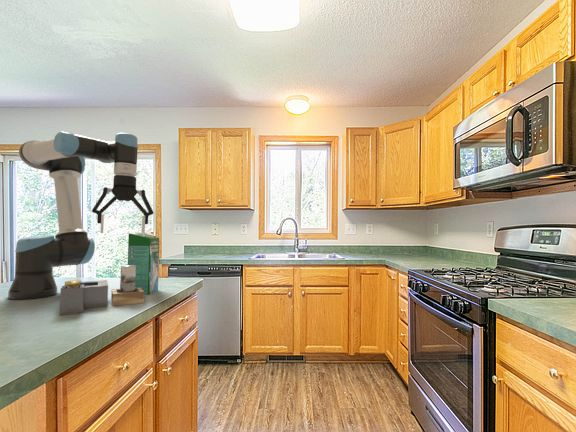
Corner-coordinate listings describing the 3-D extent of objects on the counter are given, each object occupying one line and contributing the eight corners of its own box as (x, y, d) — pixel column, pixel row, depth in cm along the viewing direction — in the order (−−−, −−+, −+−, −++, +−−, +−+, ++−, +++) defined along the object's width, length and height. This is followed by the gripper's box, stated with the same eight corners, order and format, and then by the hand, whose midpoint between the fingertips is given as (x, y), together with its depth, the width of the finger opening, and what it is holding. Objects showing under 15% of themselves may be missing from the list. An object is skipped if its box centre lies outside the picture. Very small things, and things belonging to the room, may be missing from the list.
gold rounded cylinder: (64, 302, 104) (65, 281, 104) (80, 300, 106) (81, 280, 107) (63, 305, 100) (64, 283, 101) (80, 303, 103) (80, 282, 103)
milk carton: (148, 294, 130) (150, 232, 131) (126, 294, 130) (128, 232, 131) (158, 290, 139) (159, 232, 140) (137, 290, 139) (139, 232, 140)
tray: (111, 300, 120) (111, 289, 120) (140, 297, 125) (140, 287, 125) (112, 305, 111) (112, 294, 111) (143, 302, 116) (144, 291, 117)
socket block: (64, 302, 115) (65, 280, 116) (106, 298, 122) (107, 277, 122) (59, 315, 99) (60, 289, 99) (108, 310, 106) (108, 285, 106)
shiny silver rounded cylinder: (119, 297, 119) (120, 265, 120) (134, 296, 122) (135, 264, 122) (120, 300, 115) (121, 266, 115) (135, 299, 117) (136, 266, 118)
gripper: (85, 170, 110) (82, 233, 109) (162, 178, 123) (160, 233, 122) (85, 173, 116) (83, 232, 115) (158, 180, 129) (157, 232, 129)
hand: (123, 233), depth 119 cm, fingers open, 13 cm apart
